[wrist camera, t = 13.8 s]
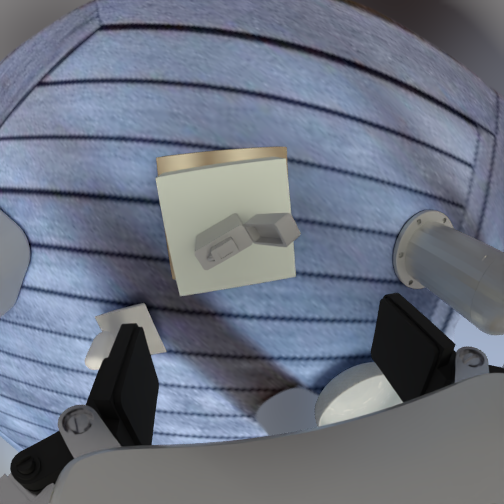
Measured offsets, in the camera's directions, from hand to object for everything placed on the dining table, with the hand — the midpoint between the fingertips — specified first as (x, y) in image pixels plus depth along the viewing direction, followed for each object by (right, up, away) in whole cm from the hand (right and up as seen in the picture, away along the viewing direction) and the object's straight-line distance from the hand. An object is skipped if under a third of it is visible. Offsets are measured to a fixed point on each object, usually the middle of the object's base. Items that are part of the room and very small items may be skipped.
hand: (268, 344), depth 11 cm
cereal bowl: (+17, -20, +38) cm, 46 cm away
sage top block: (-3, +7, +20) cm, 21 cm away
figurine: (-16, -6, +27) cm, 32 cm away
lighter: (-2, +6, +15) cm, 17 cm away
